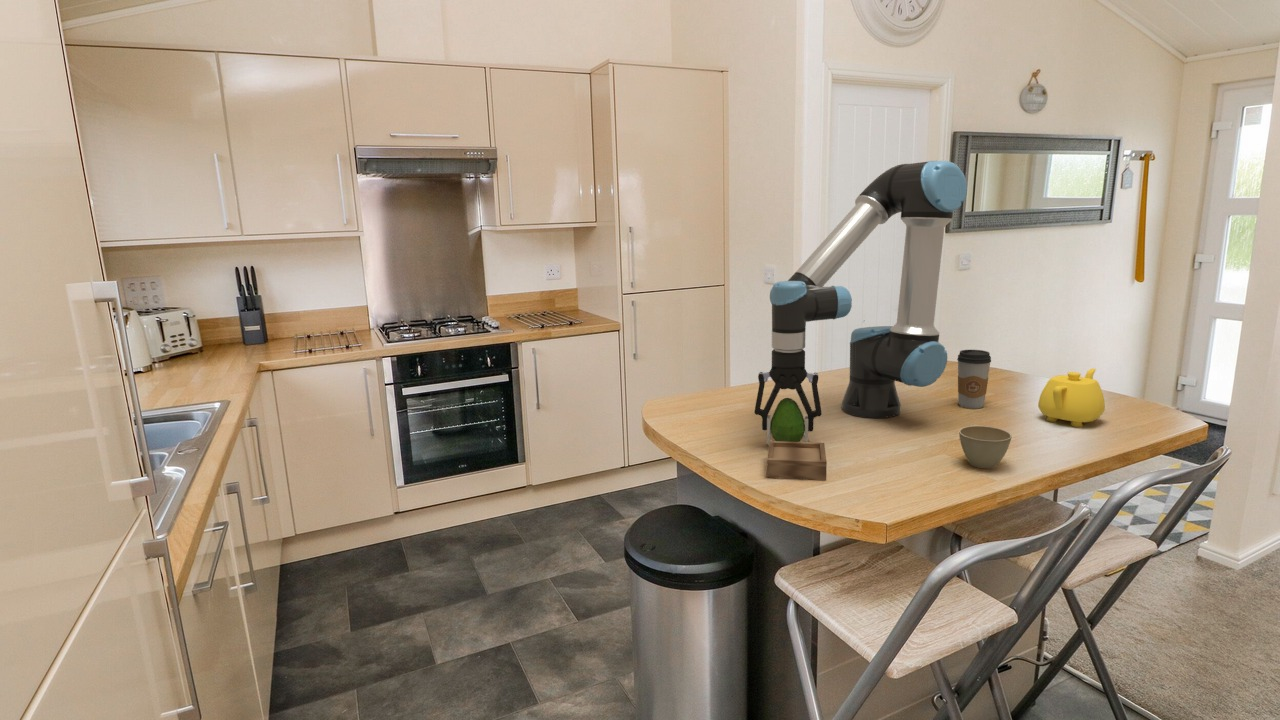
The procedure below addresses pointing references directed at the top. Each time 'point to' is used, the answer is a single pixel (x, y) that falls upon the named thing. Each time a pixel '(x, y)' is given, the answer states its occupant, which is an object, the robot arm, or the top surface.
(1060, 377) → the teapot
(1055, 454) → the top surface
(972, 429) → the grey bowl
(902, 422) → the top surface
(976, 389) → the coffee cup
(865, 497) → the top surface
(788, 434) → the avocado
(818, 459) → the base
